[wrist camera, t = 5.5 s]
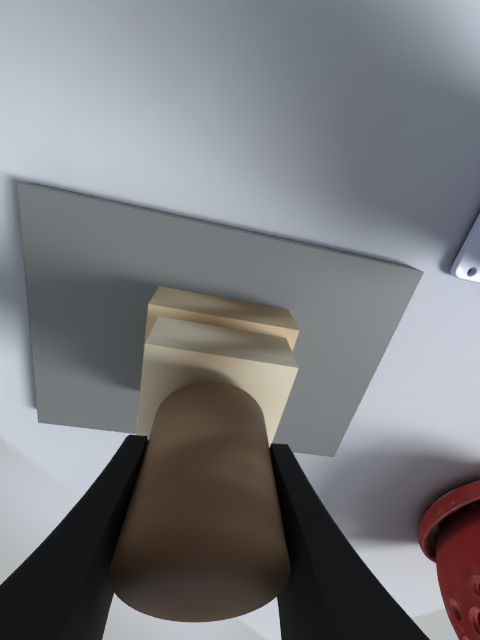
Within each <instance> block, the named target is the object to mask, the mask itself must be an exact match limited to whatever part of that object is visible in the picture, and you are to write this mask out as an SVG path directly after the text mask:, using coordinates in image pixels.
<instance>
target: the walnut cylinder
mask: <svg viewBox="0 0 480 640" xmlns="http://www.w3.org/2000/svg"><path fill="white" fill-rule="evenodd" d="M289 577H290V562H289V556H288V551H287V545H286V539H285V533H284V528H283V522H282V516H281V511H280V505H279V499H278V494H277V488H276V482H275V477H274V471H273V465H272V460H271V454H270V448H269V442H268V437H267V431H266V425H265V420H264V415H263V412H262V409H261V407H260V406H259V404H258V403H257V401H256V400H255V399H254V398H253V397H252V396H251V395H250V394H248V393H247V392H245V391H244V390H242V389H240V388H238V387H236V386H233V385H230V384H226V383H221V382H199V383H193V384H190V385H187V386H184V387H182V388H179V389H178V390H176V391H174V392H173V393H171V394H170V395H169V396H168V397H166V399H165V400H164V401H163V402H162V403H161V405H160V406H159V408H158V410H157V412H156V415H155V419H154V422H153V425H152V429H151V432H150V435H149V439H148V443H147V446H146V449H145V453H144V456H143V459H142V463H141V466H140V469H139V472H138V475H137V479H136V482H135V485H134V488H133V492H132V495H131V498H130V502H129V505H128V508H127V512H126V515H125V518H124V522H123V525H122V528H121V532H120V535H119V538H118V542H117V545H116V548H115V552H114V555H113V558H112V562H111V565H110V568H109V582H110V585H111V587H112V590H113V591H114V593H115V594H116V595H117V596H118V597H119V598H120V599H121V600H122V601H123V602H124V603H126V604H127V605H128V606H130V607H132V608H133V609H135V610H137V611H139V612H141V613H144V614H147V615H150V616H153V617H156V618H160V619H165V620H171V621H179V622H211V621H219V620H225V619H230V618H234V617H238V616H241V615H244V614H247V613H249V612H252V611H254V610H256V609H259V608H261V607H263V606H264V605H266V604H267V603H269V602H270V601H272V600H273V599H274V598H276V597H277V596H278V595H279V594H280V593H281V592H282V590H283V589H284V588H285V586H286V584H287V582H288V580H289Z"/></svg>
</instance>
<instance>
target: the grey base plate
mask: <svg viewBox="0 0 480 640" xmlns="http://www.w3.org/2000/svg"><path fill="white" fill-rule="evenodd" d="M17 185H18V197H19V208H20V220H21V231H22V243H23V254H24V266H25V277H26V288H27V300H28V311H29V323H30V334H31V346H32V357H33V369H34V380H35V392H36V403H37V414H38V423H47V424H55V425H64V426H73V427H81V428H90V429H98V430H107V431H116V432H124V433H133V434H136V433H137V417H138V407H139V396H140V386H141V375H142V365H143V354H144V343H145V333H146V322H147V312H148V304H149V302H150V300H151V299H152V297H153V296H154V294H155V292H156V291H157V289H158V288H159V286H163V287H168V288H173V289H179V290H184V291H189V292H195V293H200V294H206V295H211V296H216V297H222V298H227V299H232V300H238V301H243V302H249V303H254V304H259V305H265V306H270V307H276V308H281V309H286V310H289V311H290V313H291V315H292V317H293V319H294V321H295V323H296V325H297V327H298V329H299V334H298V337H297V340H296V342H295V345H294V348H293V351H292V353H293V355H294V358H295V360H296V363H297V365H298V367H299V369H298V372H297V374H296V377H295V380H294V383H293V386H292V388H291V391H290V394H289V397H288V400H287V402H286V405H285V408H284V411H283V414H282V416H281V419H280V422H279V425H278V427H277V430H276V433H275V436H274V439H273V441H272V443H276V444H288V446H289V447H290V449H291V450H292V452H296V453H304V454H313V455H322V456H330V457H334V455H335V453H336V451H337V449H338V447H339V445H340V443H341V441H342V439H343V436H344V434H345V432H346V430H347V428H348V426H349V424H350V422H351V420H352V418H353V416H354V414H355V412H356V410H357V408H358V406H359V404H360V402H361V400H362V398H363V396H364V393H365V391H366V389H367V387H368V385H369V383H370V381H371V379H372V377H373V375H374V373H375V371H376V369H377V367H378V365H379V363H380V361H381V359H382V357H383V355H384V353H385V351H386V348H387V346H388V344H389V342H390V340H391V338H392V336H393V334H394V332H395V330H396V328H397V326H398V324H399V322H400V320H401V318H402V316H403V314H404V312H405V310H406V308H407V305H408V303H409V301H410V299H411V297H412V295H413V293H414V291H415V289H416V287H417V285H418V283H419V281H420V279H421V277H422V275H423V273H424V272H423V271H420V270H418V269H416V268H413V267H410V266H405V265H400V264H396V263H391V262H387V261H382V260H378V259H373V258H369V257H364V256H360V255H355V254H351V253H346V252H341V251H337V250H332V249H328V248H323V247H319V246H314V245H310V244H305V243H301V242H296V241H291V240H287V239H282V238H278V237H273V236H269V235H264V234H260V233H255V232H251V231H246V230H242V229H237V228H232V227H228V226H223V225H219V224H214V223H210V222H205V221H201V220H196V219H192V218H187V217H183V216H178V215H173V214H169V213H164V212H160V211H155V210H151V209H146V208H142V207H137V206H133V205H128V204H124V203H119V202H114V201H110V200H105V199H101V198H96V197H92V196H87V195H83V194H78V193H74V192H69V191H65V190H60V189H55V188H51V187H46V186H42V185H37V184H33V183H17Z"/></svg>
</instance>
